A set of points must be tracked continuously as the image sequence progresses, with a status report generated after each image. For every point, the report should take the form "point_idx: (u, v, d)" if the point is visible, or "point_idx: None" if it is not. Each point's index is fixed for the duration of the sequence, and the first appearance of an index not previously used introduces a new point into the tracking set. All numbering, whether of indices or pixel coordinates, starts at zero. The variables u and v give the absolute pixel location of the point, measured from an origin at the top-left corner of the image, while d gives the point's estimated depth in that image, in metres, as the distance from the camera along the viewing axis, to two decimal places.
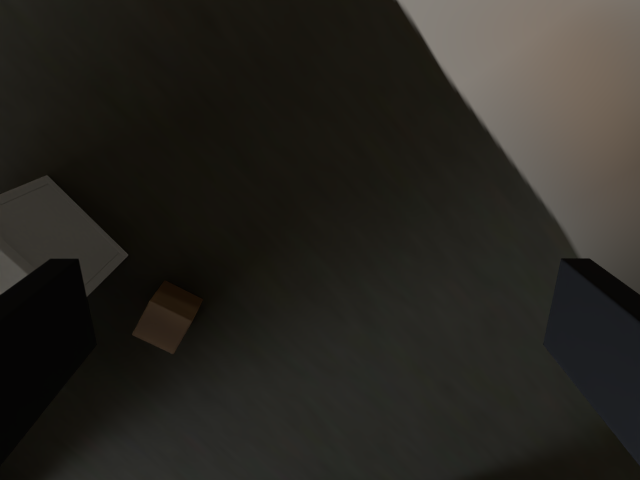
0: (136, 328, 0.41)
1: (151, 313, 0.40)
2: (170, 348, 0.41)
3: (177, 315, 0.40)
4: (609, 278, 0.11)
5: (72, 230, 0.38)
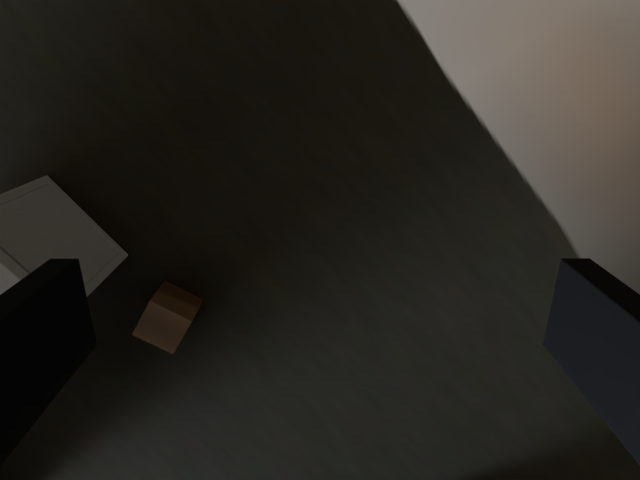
0: (136, 328, 0.41)
1: (151, 313, 0.40)
2: (170, 348, 0.41)
3: (177, 315, 0.40)
4: (609, 278, 0.11)
5: (72, 230, 0.38)
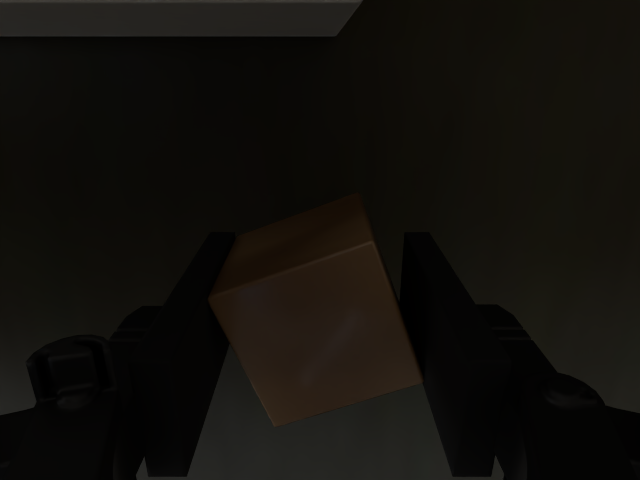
0: (241, 291, 0.10)
1: (337, 280, 0.10)
2: (284, 409, 0.12)
3: (405, 339, 0.11)
4: (431, 247, 0.13)
5: None
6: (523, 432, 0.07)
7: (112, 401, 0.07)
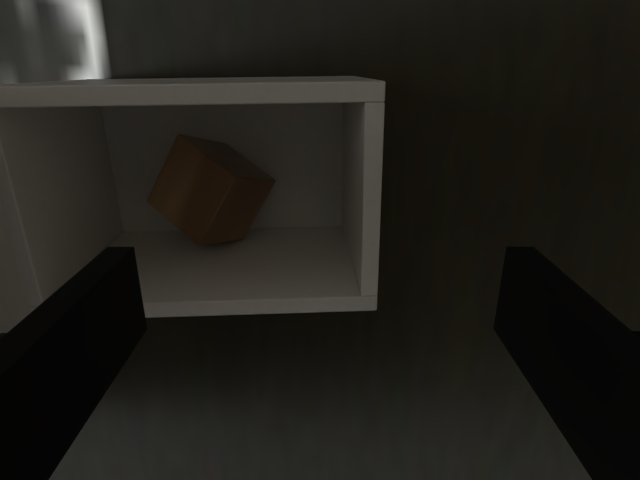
0: None
1: None
2: None
3: (157, 178, 0.24)
4: (546, 264, 0.12)
5: None
6: None
7: None
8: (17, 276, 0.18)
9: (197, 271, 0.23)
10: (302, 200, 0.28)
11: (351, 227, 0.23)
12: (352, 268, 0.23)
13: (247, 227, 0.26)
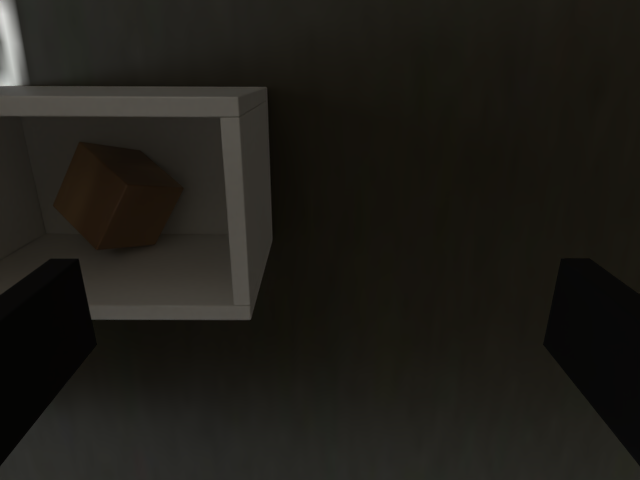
0: None
1: None
2: None
3: (62, 183, 0.24)
4: (609, 278, 0.11)
5: (264, 184, 0.25)
6: None
7: None
8: None
9: (92, 275, 0.23)
10: (219, 207, 0.29)
11: None
12: None
13: (157, 233, 0.27)
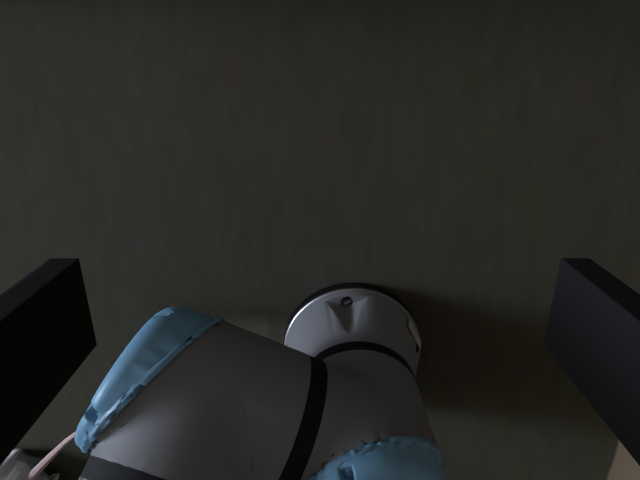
0: None
1: None
2: None
3: None
4: (608, 278, 0.11)
5: None
6: None
7: None
8: None
9: None
10: None
11: None
12: None
13: None
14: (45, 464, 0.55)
